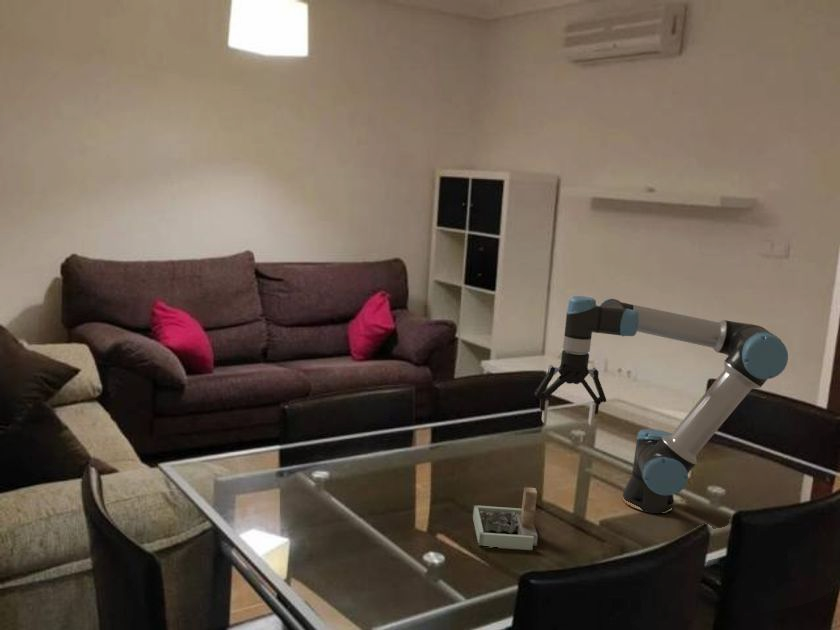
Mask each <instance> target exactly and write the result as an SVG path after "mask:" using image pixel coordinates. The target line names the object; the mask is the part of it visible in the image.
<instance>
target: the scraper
mask: <svg viewBox="0 0 840 630" xmlns="http://www.w3.org/2000/svg"><path fill="white" fill-rule="evenodd" d="M537 496H538V492H537V488H535V487H528V486H527V487H525V486H524V488H523V495H522V502H521V509H522V510H521V514H516V518H517V523H518V525H517V529H516V532H517V535H527V536H533V537H534V540H533V546H534V547H537V546H538V538H539V537H538V536H539V535H538V532H537V530H536V527H535V524H534V522H535V515H536V514H535V513H536V505H537V500H538V499H537Z"/></svg>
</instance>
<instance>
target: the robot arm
mask: <svg viewBox="0 0 840 630" xmlns="http://www.w3.org/2000/svg"><path fill="white" fill-rule="evenodd" d="M596 302H597V301H596V299H595V298H593V297H589V296H584V295H583V296H581V295H574V296H571V297H570V298H569V300H568V305H567V310H566V314H565V315H566V318H565V327H564V336H563V341H562V342H563V343H562V344H563V345H562V352H561V358H560V359H561V360H560V364H559V367H557V366H553V365H552V364H551V365H549V366H548V370H547V373H546V374H545V376H544V378H543V379H542V380H541V382H540V384H539V386H538V387H537V388H536V389H535V391H534V396H535V397H536V398H537V399H539V400H540V401H539V409H540V411H542V413H541V421H542V423H543V424H546V423H547V417H548V408H549V403H550V402H549V400H548V398H550V396H552V395H553V394H554V393H555V392H556V391H557V390H558V388H560V387H561V386H562V385H564V384H565V383H566V384H567V385H568V384H569V385H570V384H575V385H579V384H581V385H582V386H583V388H585V390H586V392H587V393H588V394H589V396H590V398H591V399H592V400H593V401H592V400H591V401H590V405H589V412H588V420H587V424H588V425H589V426H590V427H594V419H595V415H599V408H600V405H601V403H606V402H607V398H606V395H605V393H604V390H603V387H602V384H601V382H600V378H599V370H598V369H596V367H593V368H592V369H589V359H590V354H589V352H590V351H591V345H592V344H591V343H592V334H593V333H595V334H603V335H613V336H621V337H634V336H636V334H637V333H642V334H646V335H652V336H657V337H662V338H665V339H670V340H676V341H680V342H684V343H688V344H689V343H690V344H693V345H697V346H703V347H706V348H707V347H708V348H712V349H713V350H714V352H715V353H720V354H723V355H726V356H727V357H726V358H725V359H724V360H723V365H724V369H723V371H722V372H721V374H720V375H719V376H718V377H717V378H716V379H715V380H714V382H713V383H712V384H711V386H710V387H709V388H708V389H707V390H706V392H705V393H704V394H703V395H702V396H701V397H700V398H699V400H698V401H697V402H696V404H695V405H694V406H693V407H692V409H691V410H690V411H689V412H688V413H687V414H686V416H685V417H684V419H683V420H682V421H681V422H680V423H679V424H678V426H676V428H675V429H674V431H673V432H669V431H665V430H660V429H652V428H651V429H650V428H647V429H646V428H644V429H641V430H639V431H638V433H637V437H636V439H635V440H636V444H635V451H634V459H633V465H632V472H631V476H630V478H629V480H628V482H627V483H626V485H625V488H624V489H623V493H622V497H624V499H625V500H626V501H628V502H630V503H632V504H634V505H636V506H638V507H640V508H641V509H642V510H643V511H647V512H649V513H648V514H652V513H662V512H665V511H667V510H669V509H671V508H672V507H673V506H674V505H675V498H674V495H677V494H678V493H680V492H681V491H683V490H684V489H685V487H686V486H687V484H688V481H689V480H688V479H689V473H690V472H691V471H692V470H693V468H695V466H696V465H697V464H698V462H697V455H698V454H699V452H701V450H702V449H703V448H704V446H705V445H706V444H707V443H708V441H710V440H711V438H712V437H713V436H714V434H715V433H716V432H717V431H718V430H719V429H720V427H722V425H723V424H724V422H725V421H726V420H727V419H728V418H729V416H730V415H731V414H732V413H733V412H734V410H735V409H736V408H737V407H738V405H740V403H741V402H742V401H743V400H744V399H745V398H746V396H747V395H748V394H749V393H750V392H751V390H753V389H761V388H762V386H763V385H764V384H765V383H766V382H767V381H768V380H770V379H774V378H776V377H778V376H779V375H780V374H781V373H783V371H784V370H785V369H786V367H787V364H788V363H789V362H788V360H789V353H788V350H787V347H786V345H785V343H784V342H783V341H782V340H781V338H779V337H778V336H777V335H776V334H773V333H772V332H770V331H769V330H767V329H766V328H764V327H763V326H760V325H757V324H752V323H747V322H746V323H744V322H737V321H731V320H726V319H722V320H720V321H714V320H709V319H705V318H699V317H695V316H689V315H684V314H681V313H676V312H671V311H665V310H660V309H656V308H651V307H646V306H641V305H637V304H633V303H632V304H630V303H627V302H622V301H620V300H619V299H616V298H607V299H605V300H603V301H602V302H601V303H600V305H597V303H596ZM557 373H559V376H558V377H557V378H556V380H555V381H554V382H553V383H552V384H550V385H549V383H550V382H551V380H552V379H553V377H554V376H555V375H556V374H557ZM587 376H590V377H591V378H592V379H593V383H594V386H595V388H596V391H597V394H598V396H597V395H596V394H595V392H594V391H593V389H592V388H591V386H590V385H589V383H588V382H587V380H586V377H587ZM548 386H549V387H548ZM674 507H675V506H674ZM674 507H673V508H674Z"/></svg>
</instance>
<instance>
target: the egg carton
mask: <svg viewBox="0 0 840 630" xmlns="http://www.w3.org/2000/svg"><path fill="white" fill-rule="evenodd" d="M479 514H480V519H481V523H482V527H483V532H484V533H489V531H494V532H496V533H501V532H507V533H509V534H513V533H514V532H517V530H516V529H517V525H518V523H517V518H516V516H515V512H514V511H512V512H501V511H489V510H481V511H479ZM508 523H509V524H508Z"/></svg>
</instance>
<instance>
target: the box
mask: <svg viewBox="0 0 840 630" xmlns="http://www.w3.org/2000/svg"><path fill="white" fill-rule="evenodd" d="M481 510H489V511H501V512H512V511H514V512H515V516H516V514H521V510H522V508H520V507H519V508H517V507H505V506H504V507H501V506H491V505H490V506H489V505H473V510H472V511H473V512H472V519H473V524H474V530H475V534H476V539H477V543H479V545H483V546H489V547H488V548H493V547H498V549H509V550H510V549H511V550H524V551H525V550H526V551H527V550H528V551H533V540H534V537H533V536H527V535H518V534H513V533H509V534H507V533H498V532H496V533H495V532H494V533H493V532H485V531H483V527H482V523H481V519H480V514H479V511H481ZM479 545H478V546H479Z"/></svg>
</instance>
